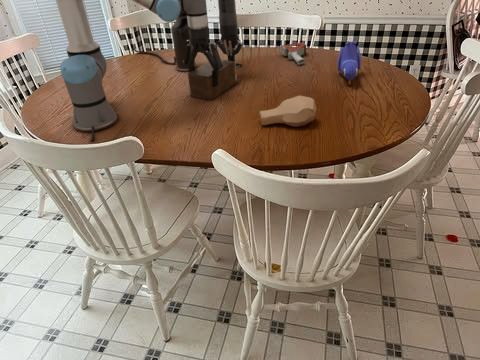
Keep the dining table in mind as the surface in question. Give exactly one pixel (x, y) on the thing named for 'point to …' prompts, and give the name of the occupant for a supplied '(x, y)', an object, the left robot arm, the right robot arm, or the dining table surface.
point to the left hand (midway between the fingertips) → (204, 83)
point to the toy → (349, 61)
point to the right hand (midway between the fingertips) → (231, 63)
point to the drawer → (237, 68)
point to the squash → (291, 112)
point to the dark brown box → (211, 80)
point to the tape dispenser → (294, 52)
